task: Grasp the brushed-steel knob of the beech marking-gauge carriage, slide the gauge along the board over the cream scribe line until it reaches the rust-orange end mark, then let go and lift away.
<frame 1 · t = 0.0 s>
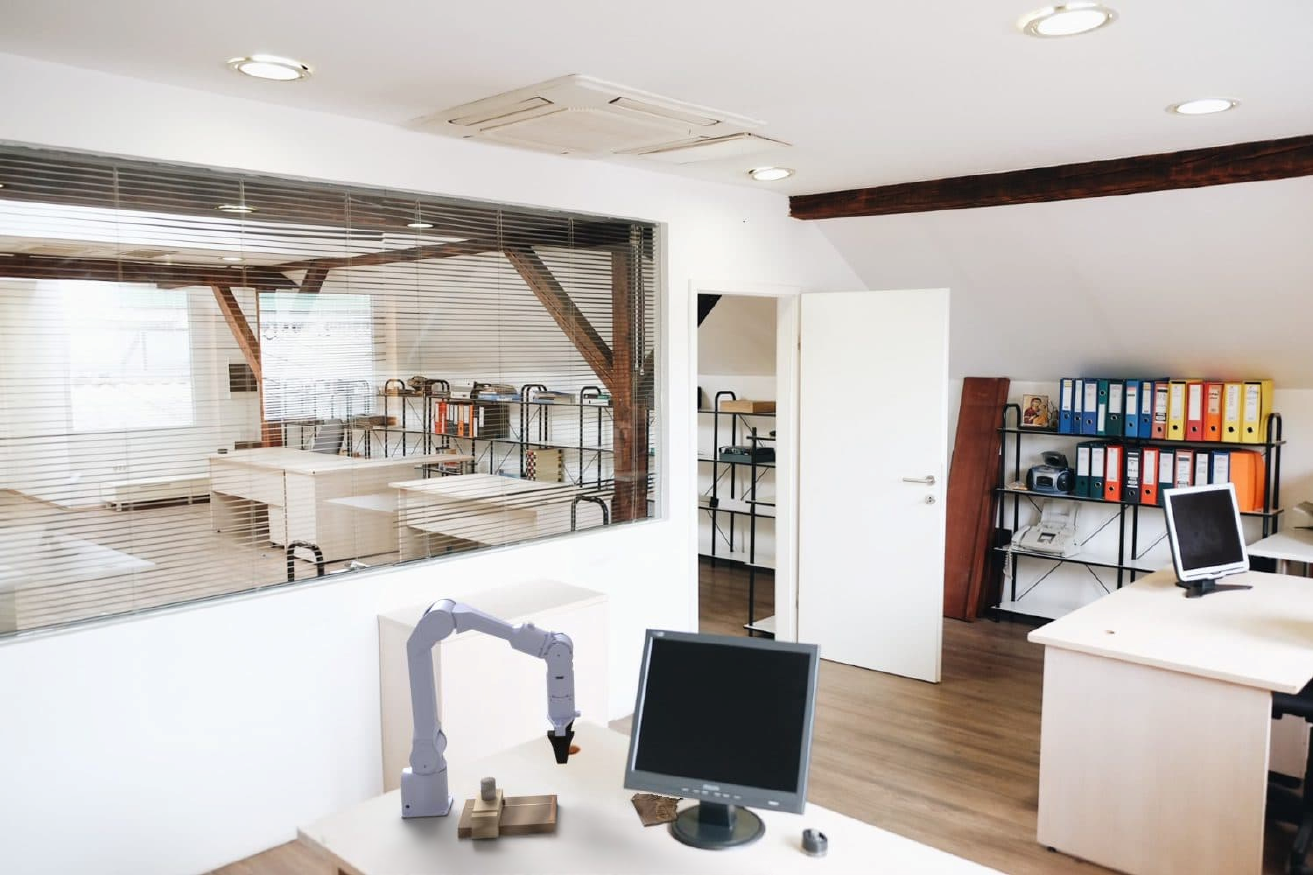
hand: (563, 755, 201), 10 cm above the table, tool pointing down, fingers open, 7 cm apart
board: (509, 819, 194), on the table
wooden fragment: (658, 798, 203), on the table
gauge: (488, 804, 191), point 5 cm above the table, slide at 0.0 cm
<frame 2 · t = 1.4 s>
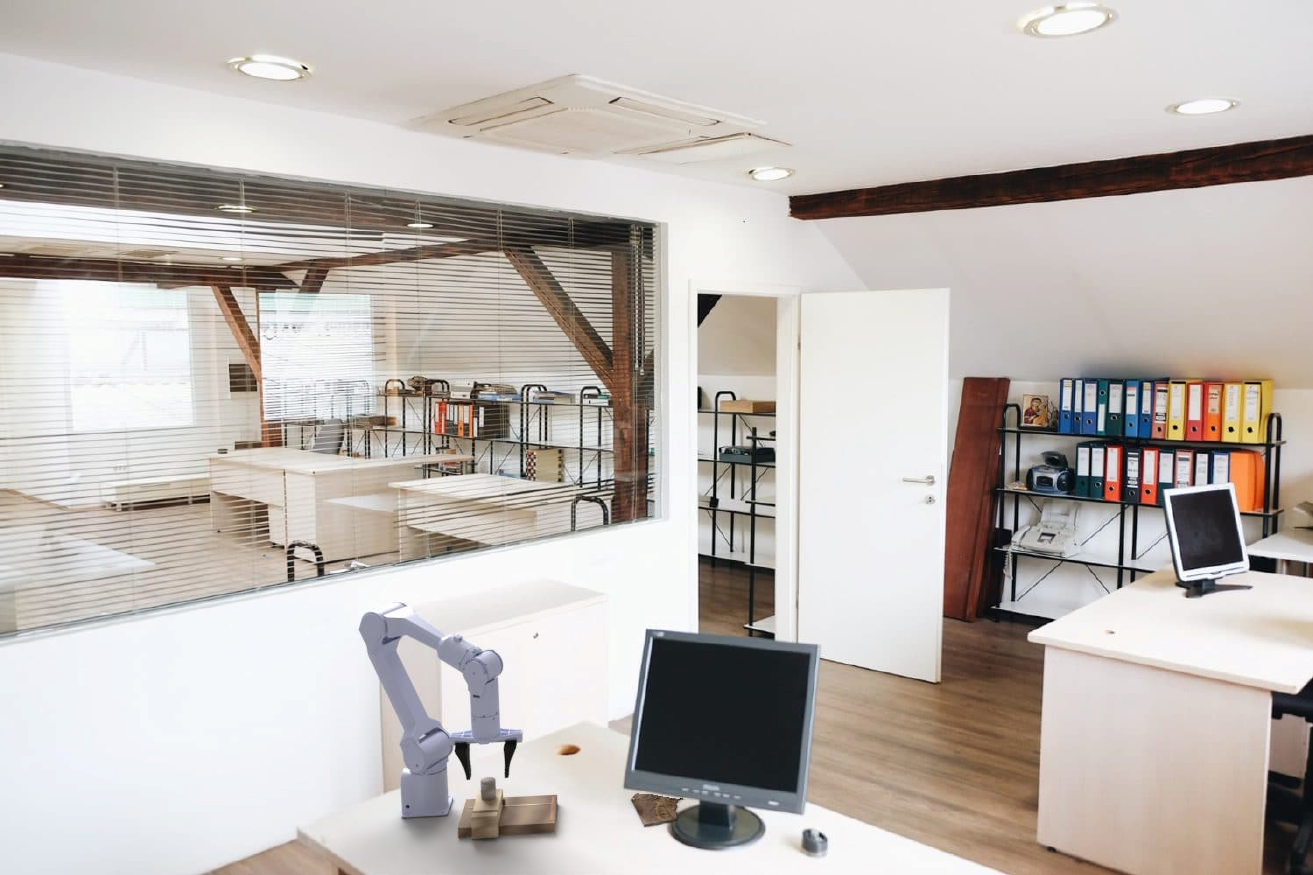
hand: (487, 776, 193), 9 cm above the table, tool pointing down, fingers open, 7 cm apart
nothing on the table moved.
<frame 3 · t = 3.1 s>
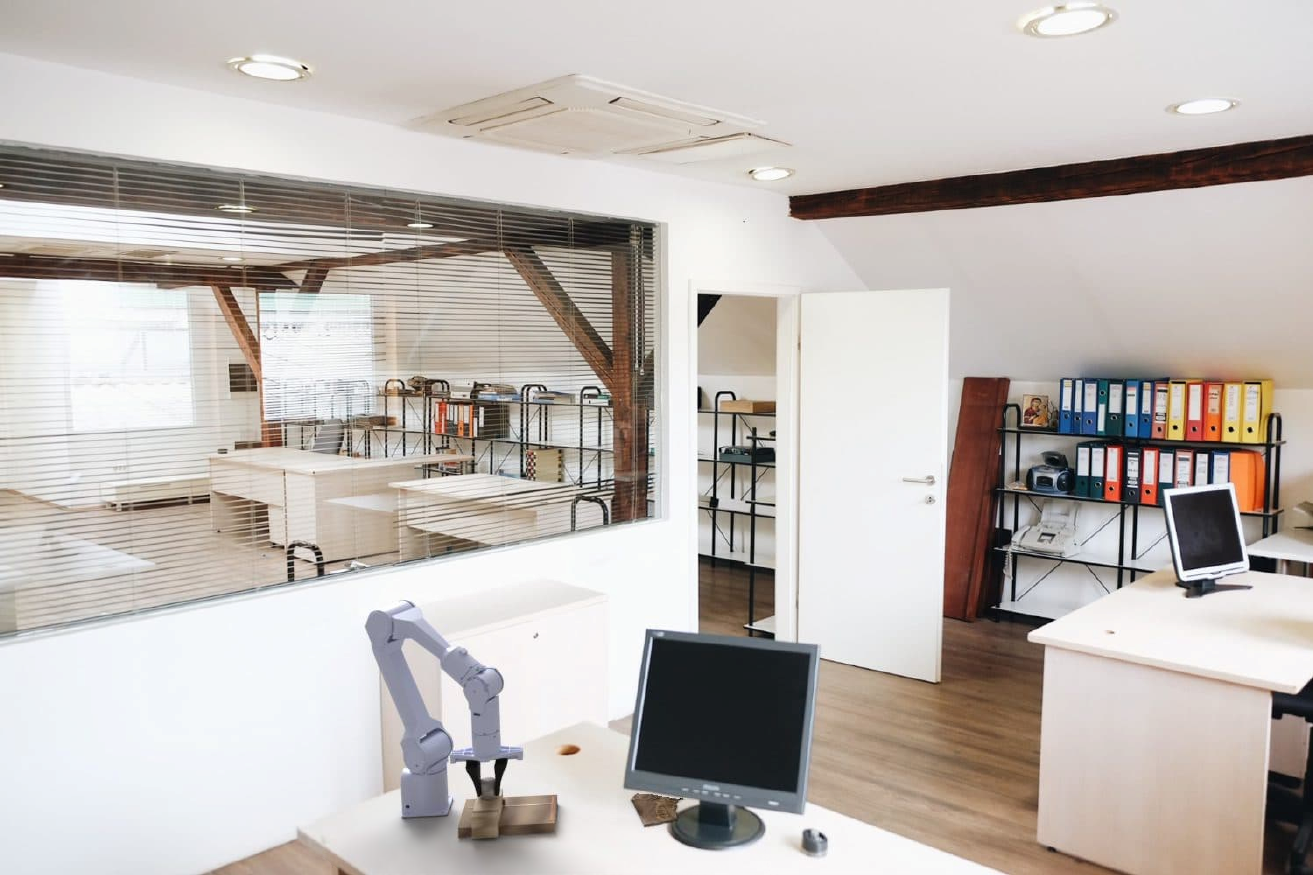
hand: (488, 794, 193), 6 cm above the table, tool pointing down, fingers closed on gauge, 3 cm apart
gauge: (488, 804, 191), point 5 cm above the table, slide at 0.0 cm, touching gripper
everything else where it was.
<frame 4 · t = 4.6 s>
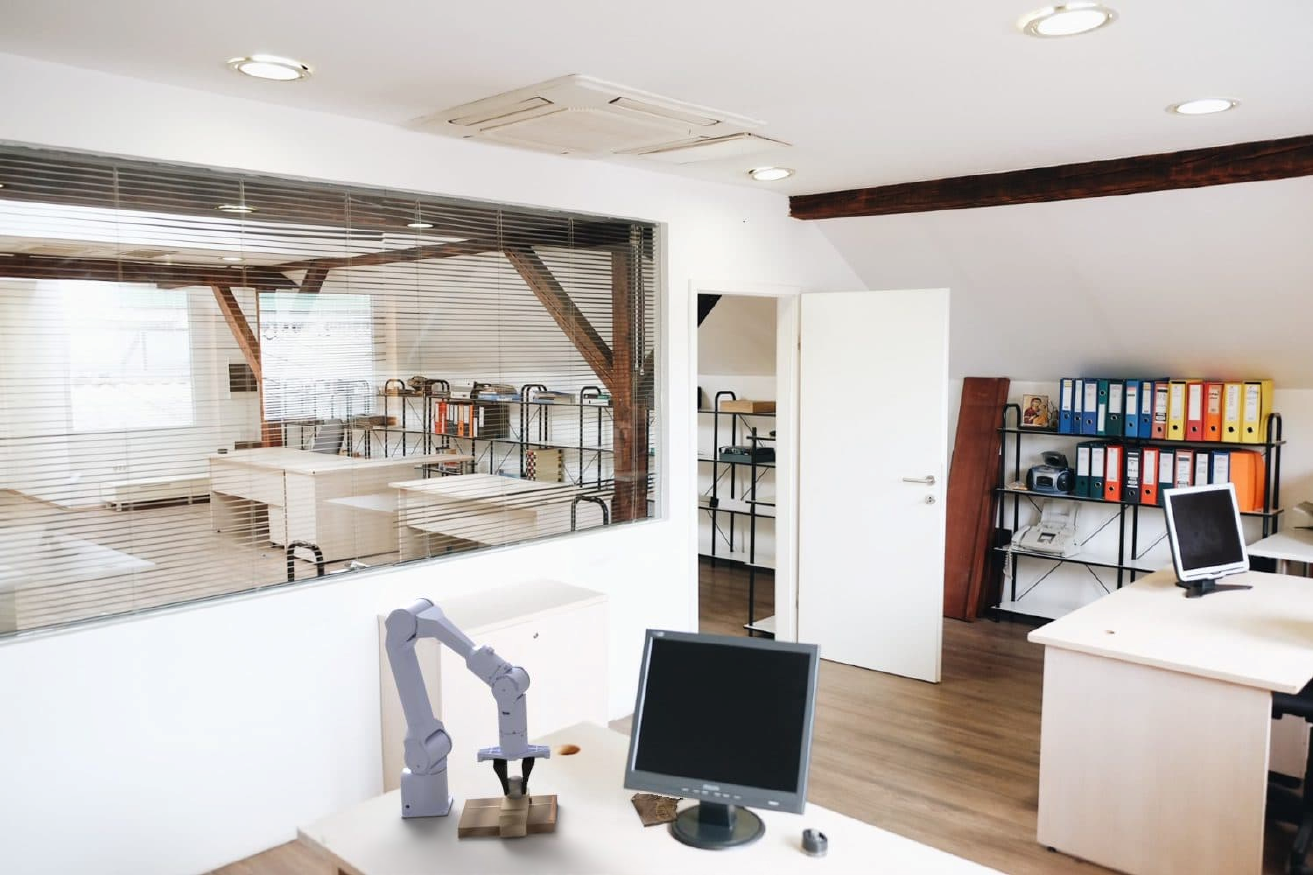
hand: (515, 792, 194), 6 cm above the table, tool pointing down, fingers closed on gauge, 3 cm apart
gauge: (516, 802, 191), point 5 cm above the table, slide at 5.5 cm, touching gripper
everything else where it was.
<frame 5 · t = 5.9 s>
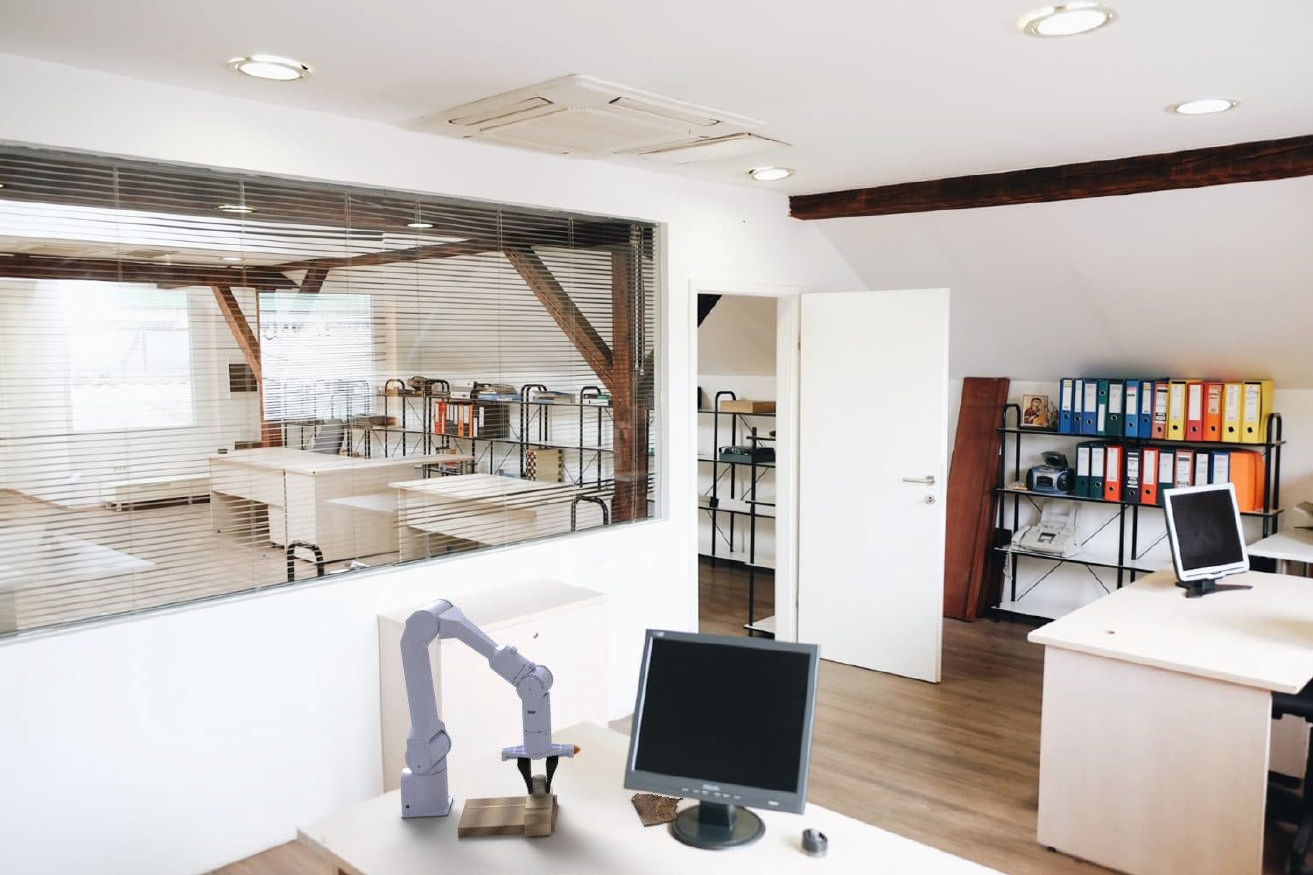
hand: (539, 791, 194), 6 cm above the table, tool pointing down, fingers closed on gauge, 3 cm apart
gauge: (540, 801, 192), point 5 cm above the table, slide at 10.3 cm, touching gripper
everything else where it was.
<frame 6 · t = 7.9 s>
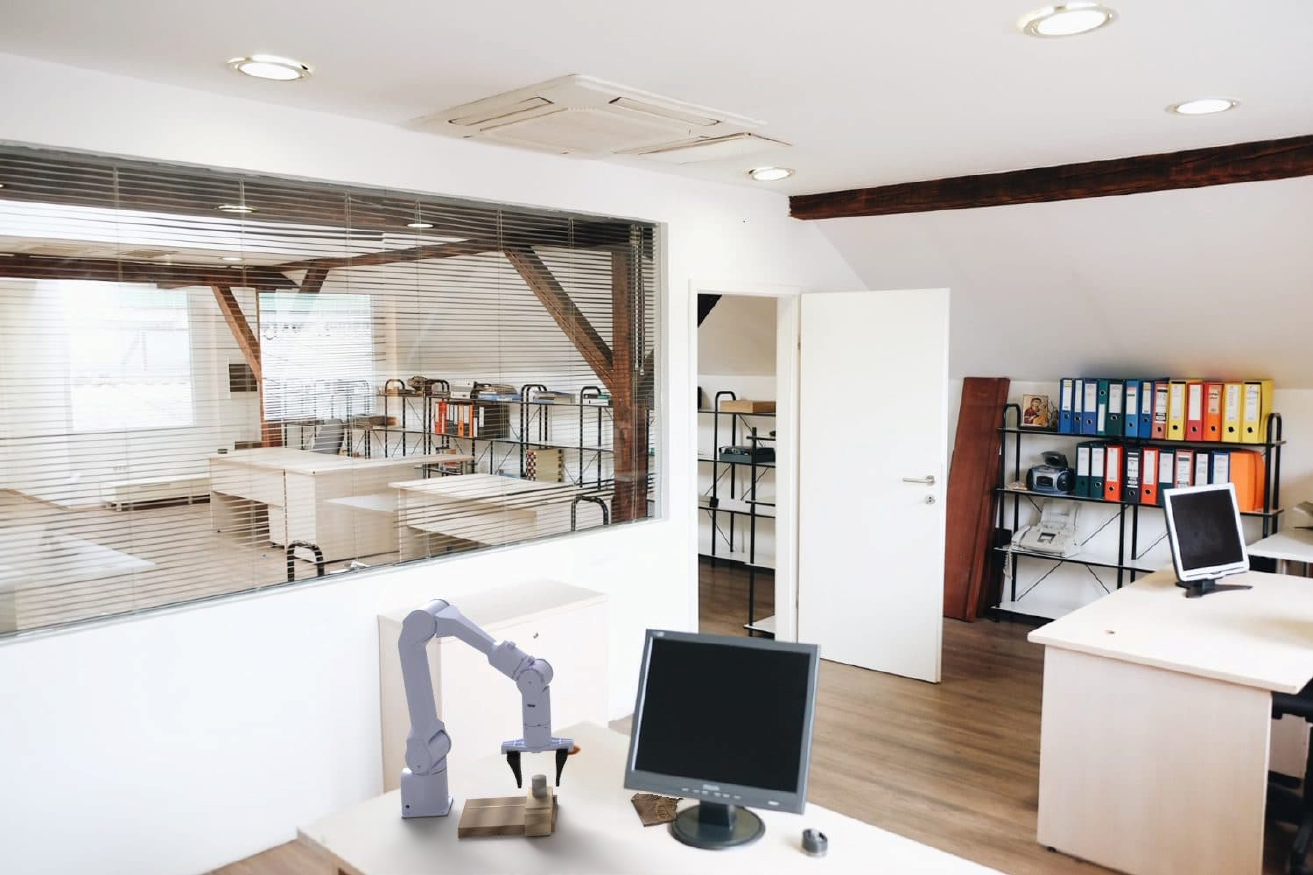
hand: (538, 785, 194), 7 cm above the table, tool pointing down, fingers open, 7 cm apart
gauge: (540, 801, 192), point 5 cm above the table, slide at 10.3 cm
everything else where it was.
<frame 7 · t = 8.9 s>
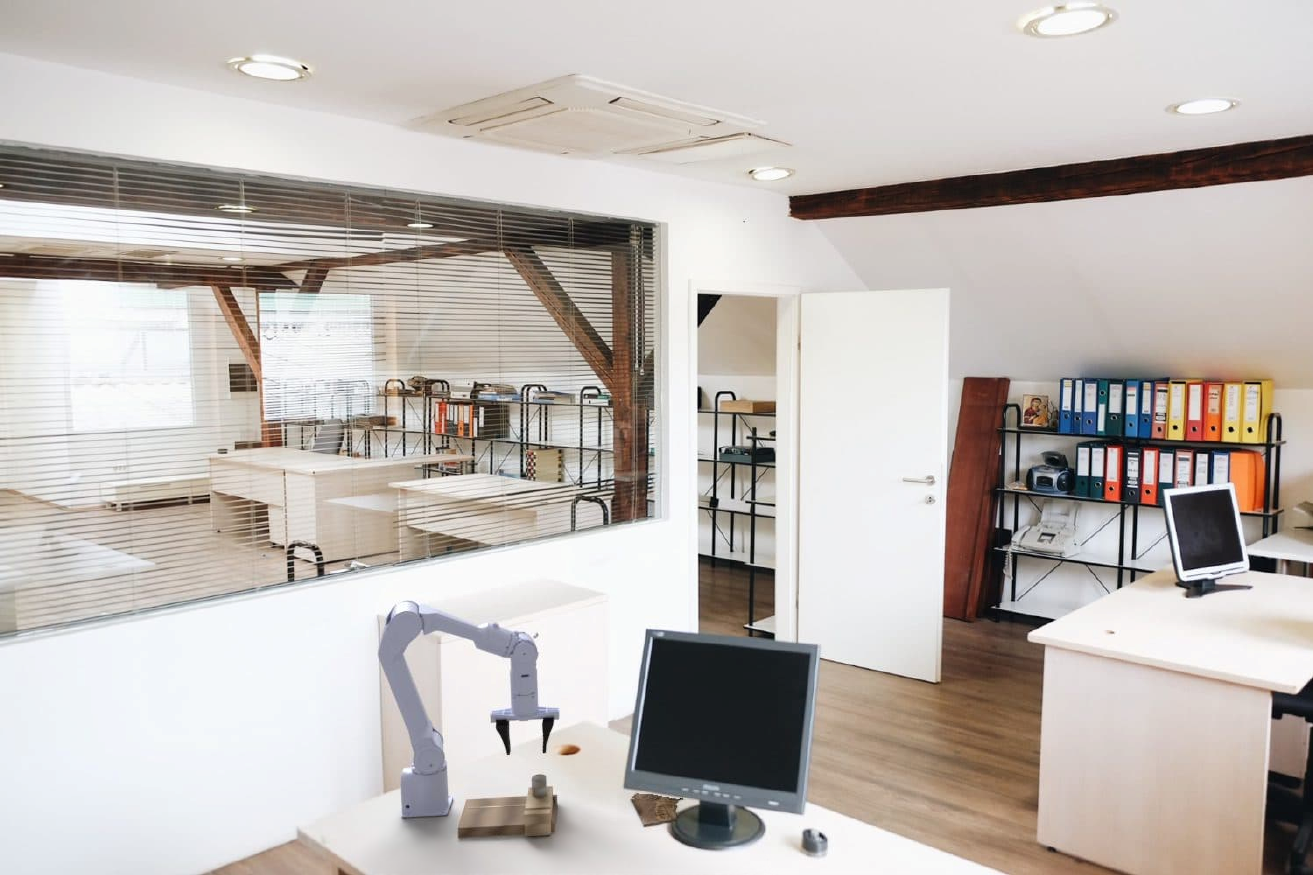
hand: (526, 752, 204), 9 cm above the table, tool pointing down, fingers open, 7 cm apart
nothing on the table moved.
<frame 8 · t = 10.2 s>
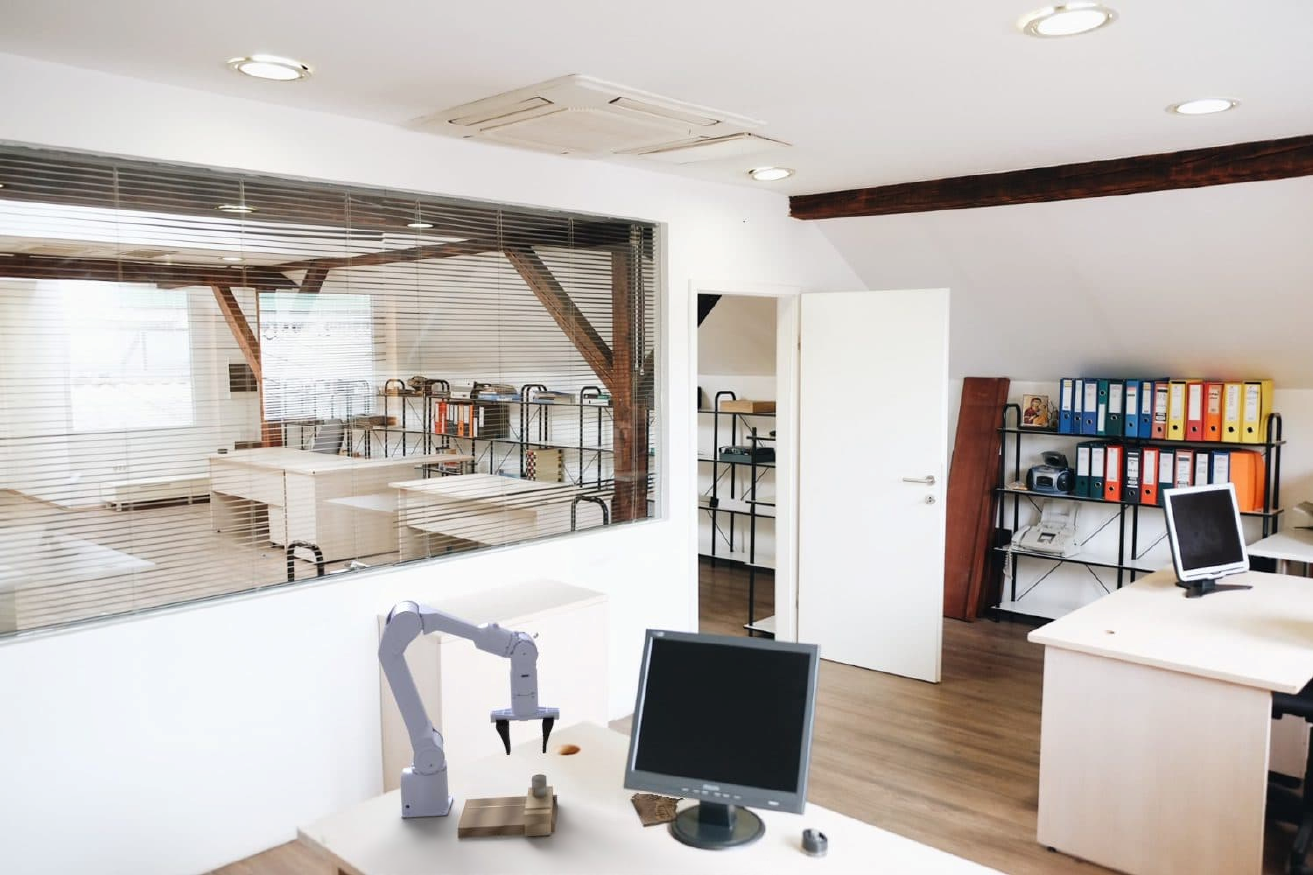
hand: (526, 752, 204), 9 cm above the table, tool pointing down, fingers open, 7 cm apart
nothing on the table moved.
at the end: gauge slide at 10.3 cm; the gripper is holding nothing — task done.
